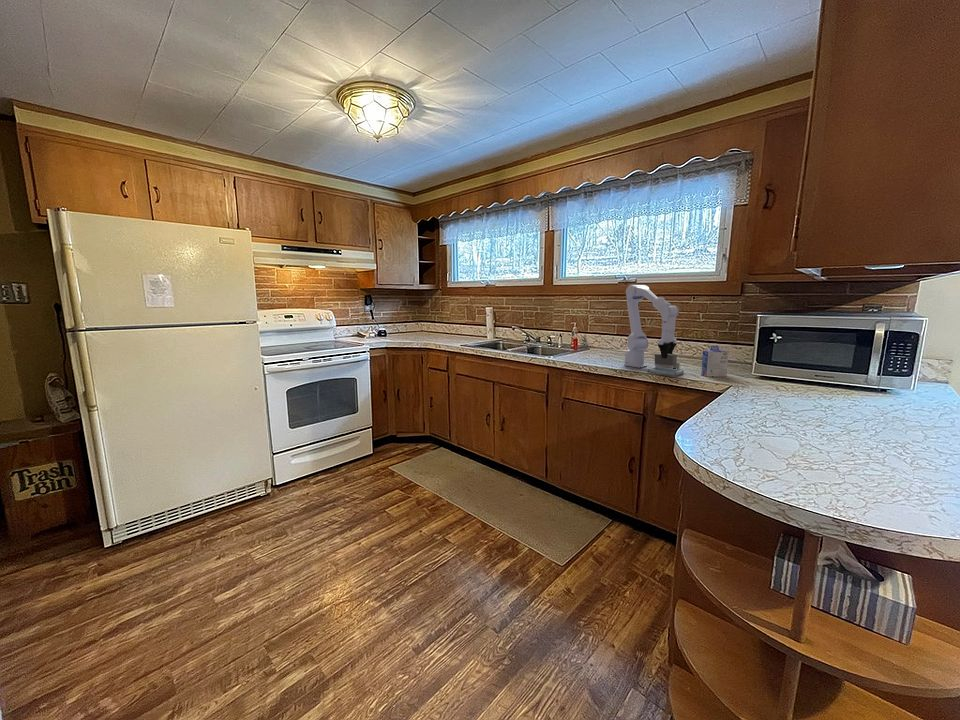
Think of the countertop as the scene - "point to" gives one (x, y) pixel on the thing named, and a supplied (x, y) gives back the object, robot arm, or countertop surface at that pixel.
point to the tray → (665, 371)
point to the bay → (669, 366)
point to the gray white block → (669, 360)
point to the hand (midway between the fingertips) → (666, 357)
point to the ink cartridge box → (714, 362)
